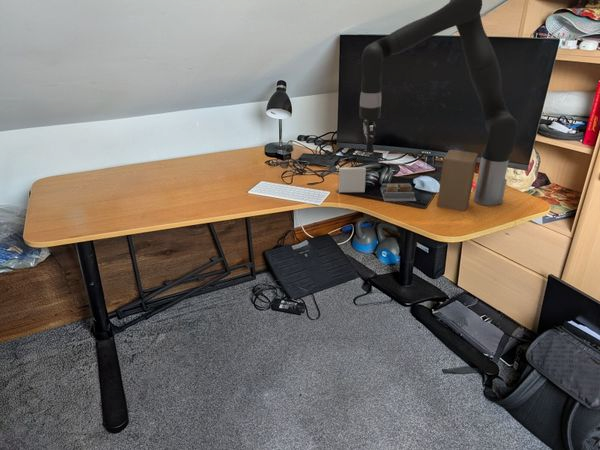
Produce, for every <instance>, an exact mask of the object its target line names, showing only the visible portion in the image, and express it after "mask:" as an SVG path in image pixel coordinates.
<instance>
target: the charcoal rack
mask: <svg viewBox="0 0 600 450" xmlns="http://www.w3.org/2000/svg"><path fill="white" fill-rule="evenodd" d="M387 185H398V192H386V189H387ZM400 185H411V183H381V187H380V191H381V195H382V199H383V201H384V202H416V201H417V199H416V197H415V192H414V191H413V187H412V188H411V192H399V191H400ZM411 186H412V185H411Z"/></svg>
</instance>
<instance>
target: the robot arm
mask: <svg viewBox="0 0 600 450" xmlns="http://www.w3.org/2000/svg"><path fill="white" fill-rule="evenodd" d="M482 7H483V0H449V2H448V3H447V4H446V5H444V6H442V7H441V8H440V9H437V10H435V11H434V12H433V13H430V14H428V15H426V16H423V17H421V18H419V19H416V20H415V21H412V22H410V23H407V24H406V25H404V26H402V27H400V28H398V29H396V30H394V31H393V32H391V33H390V34H388V35H386V36H384V37H382V38H380V39H377V40H375V41H373V42H372V43H369V44H368V45H367V46H365V48H364V50H363V51H362V55H361V76H362V77H361V85H360V86H361V87H360V90H361V91H360V96H359V114H358V115H359V118H360V119H362V120H363V123H362V124H363V135H364V137H363V138H364V139H363V140H364V141H363V143H364V145H365V146H366V148H365V149H366V150H365V151H366V153H373V150H374V149H373V148H374V143H375V141H376V140H375V137H376V127H377V126H376V122H375V120H378V119H380V118H381V112H382V109H381V108H382V87H383V85H382V82H383V80H382V71H383V63H384V62H383V61H384V60H386V59H388V58H390V57H392V56H395V55H398V54H401V53H403V52H405V51H407V50H409V49H410V48H412V47H415V46H416V45H418V44H421V42H423V41H426V40H427V39H429V38H430V37H433V36H435V35H436V34H439V33H442V32H443V31H445V30H449V29H451V28H455V27H456V29H457V31H458V34H459V37H460V40H461V41H460V42H461V44H462V51H463V54H464V60H465V63H466V67H467V71H468V74H469V78H470V80H471V83H472V86H473V88H474V90H475V93H476V96H477V98H478V100H479V103H480V105H481V109H482V115H483V120H484V126H485V130H486V132H487V133H488V136H487V141H486V145H485V147H484V148H483V149H482V153H481V158H480V163H479V169H478V174H477V179H476V184H475V185H476V186H475V191H474V197H473V201H475V203H477V204H479V205H483V206H489V207H490V206H491V207H494V206H498V205H502V203H503V200H504V195H505V191H506V185H507V179H506V176H507V170H508V166H509V165H508V164H509V161H510V159H511V158H510V157H511V155H512V153H513V151H514V148H515V144H516V140H517V136H518V131H519V124H518V121H517V119H515V117H514V116H513V115H512V114H511V113H510V111H509V109H508V107H507V105H506V102H505V99H504V97H503V90H502V88H503V87H502V86H503V85H502V84H503V83H502V73H501V69H500V65H499V61H498V57H497V55H496V52H495V49H494V47H493V45H492V43H491V41H490V39H489V37H488V35H487V33H486V31H485V28H484V25H483V22H482V18H481V11H482Z"/></svg>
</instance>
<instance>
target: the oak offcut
mask: <svg viewBox="0 0 600 450" xmlns="http://www.w3.org/2000/svg"><path fill="white" fill-rule="evenodd" d="M386 192H398V185H387V189H386Z"/></svg>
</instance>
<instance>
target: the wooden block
mask: <svg viewBox="0 0 600 450" xmlns="http://www.w3.org/2000/svg"><path fill="white" fill-rule="evenodd" d="M442 161H443V162H442V169H441V175H440V181H439V188H438V197H437V203H436V206H437V207H440V208H445V209H451V210H455V211H460V212H466V211H467V209H468V207H469V204H470V201H471V200H470V198H471V194H472V189H473V183H474V178H475V171H476V166H477V161H478V153H477V152H471V151H464V150H456V149H449V150H448V151H447V153H446V154H445V156H444V158H443V160H442Z"/></svg>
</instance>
